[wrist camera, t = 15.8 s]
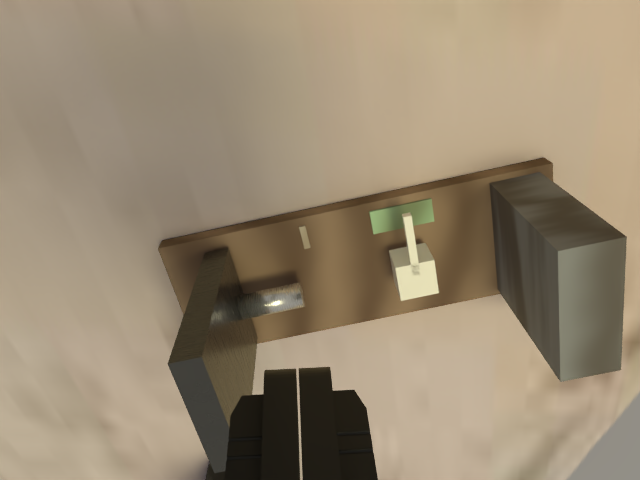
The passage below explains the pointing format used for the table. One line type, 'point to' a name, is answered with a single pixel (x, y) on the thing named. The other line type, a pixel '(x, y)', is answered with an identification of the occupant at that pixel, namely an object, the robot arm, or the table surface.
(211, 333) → the brushed metal plate
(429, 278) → the cream lever switch
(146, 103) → the table surface
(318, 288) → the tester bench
